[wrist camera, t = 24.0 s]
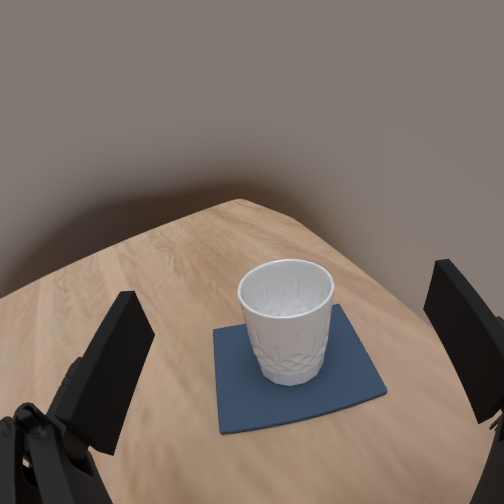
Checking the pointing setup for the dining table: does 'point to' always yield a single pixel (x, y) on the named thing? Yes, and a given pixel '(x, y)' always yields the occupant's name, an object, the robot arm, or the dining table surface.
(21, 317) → the dining table surface
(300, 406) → the glassware mat
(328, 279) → the white cup
